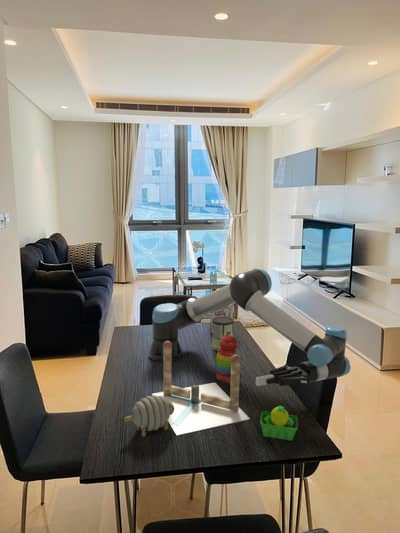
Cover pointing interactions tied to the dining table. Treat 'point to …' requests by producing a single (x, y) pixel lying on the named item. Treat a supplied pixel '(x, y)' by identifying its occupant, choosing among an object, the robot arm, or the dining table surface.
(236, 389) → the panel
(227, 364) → the stacking bear
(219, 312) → the candy bar box
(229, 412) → the card
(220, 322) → the coffee can
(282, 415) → the fruit basket
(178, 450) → the dining table surface
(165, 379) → the wooden post with ball
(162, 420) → the toy sheep
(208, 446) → the dining table surface
